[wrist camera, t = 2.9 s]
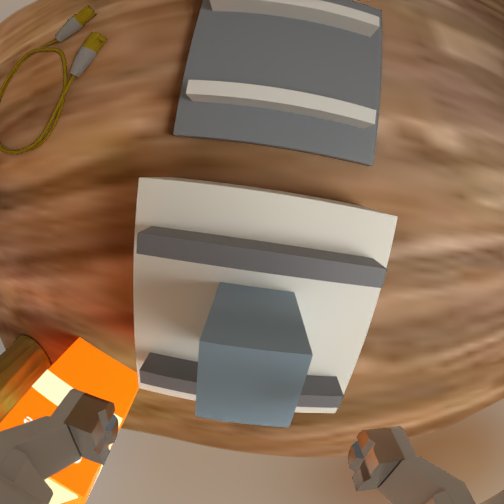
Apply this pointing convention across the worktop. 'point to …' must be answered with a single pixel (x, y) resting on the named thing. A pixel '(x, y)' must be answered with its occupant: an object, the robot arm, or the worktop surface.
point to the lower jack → (285, 76)
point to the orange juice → (54, 391)
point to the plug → (252, 357)
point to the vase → (20, 371)
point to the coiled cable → (78, 66)
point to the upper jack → (253, 275)
